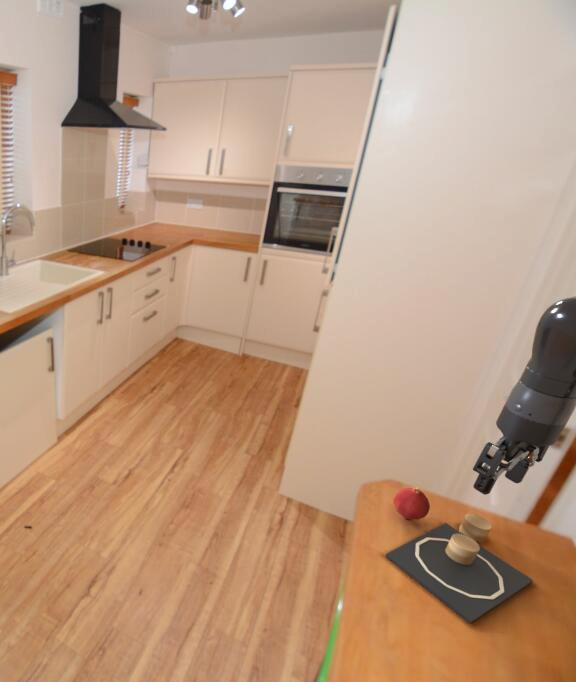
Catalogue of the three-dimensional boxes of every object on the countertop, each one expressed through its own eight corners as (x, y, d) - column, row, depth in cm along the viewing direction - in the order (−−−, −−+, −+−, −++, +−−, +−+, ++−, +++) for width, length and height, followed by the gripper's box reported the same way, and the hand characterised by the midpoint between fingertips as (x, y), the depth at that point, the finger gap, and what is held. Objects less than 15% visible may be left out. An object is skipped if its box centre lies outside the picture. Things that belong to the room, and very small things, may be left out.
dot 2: (464, 568, 82) (471, 554, 80) (440, 551, 85) (446, 537, 84) (477, 560, 83) (485, 547, 82) (453, 544, 87) (459, 530, 85)
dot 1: (489, 538, 89) (496, 525, 87) (477, 545, 87) (484, 532, 86) (466, 523, 92) (472, 510, 90) (454, 530, 90) (460, 517, 89)
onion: (392, 502, 97) (404, 473, 94) (425, 517, 93) (439, 487, 90) (385, 517, 93) (397, 487, 90) (419, 533, 90) (433, 503, 86)
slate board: (531, 583, 80) (533, 579, 80) (470, 624, 73) (472, 620, 73) (444, 525, 92) (446, 522, 91) (385, 556, 85) (386, 553, 85)
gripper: (536, 432, 70) (493, 510, 77) (592, 414, 74) (547, 490, 81) (481, 406, 76) (447, 480, 83) (536, 391, 80) (499, 463, 87)
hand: (496, 485), depth 82 cm, fingers open, 8 cm apart
